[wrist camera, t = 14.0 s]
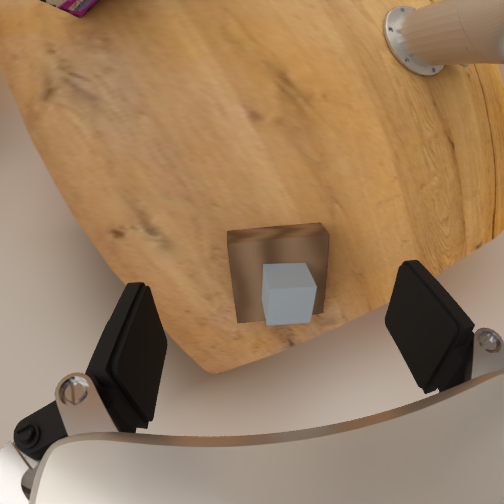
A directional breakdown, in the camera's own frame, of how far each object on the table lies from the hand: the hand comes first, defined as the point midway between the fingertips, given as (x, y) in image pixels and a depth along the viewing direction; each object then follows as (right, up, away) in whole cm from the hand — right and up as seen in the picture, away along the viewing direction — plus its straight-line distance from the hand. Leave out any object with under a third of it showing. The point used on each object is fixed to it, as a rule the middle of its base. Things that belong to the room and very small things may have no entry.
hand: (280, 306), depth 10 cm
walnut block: (+3, 0, +35) cm, 35 cm away
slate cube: (+3, -2, +31) cm, 31 cm away
